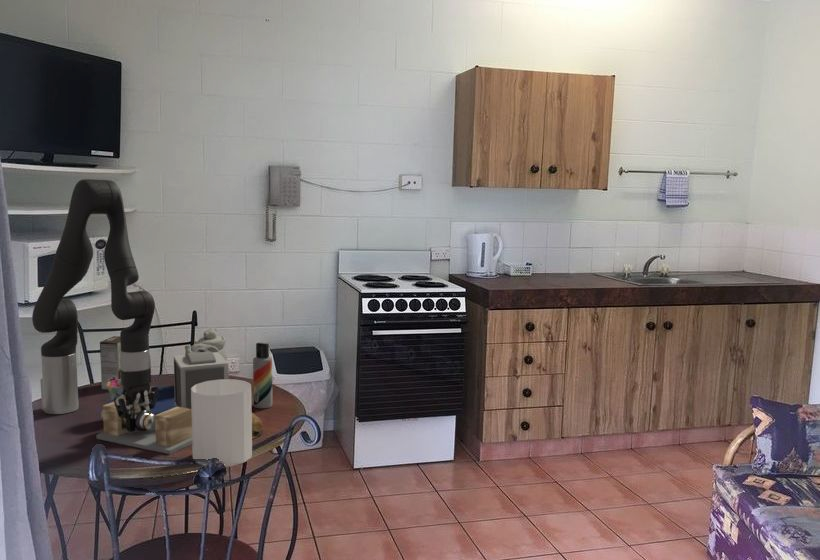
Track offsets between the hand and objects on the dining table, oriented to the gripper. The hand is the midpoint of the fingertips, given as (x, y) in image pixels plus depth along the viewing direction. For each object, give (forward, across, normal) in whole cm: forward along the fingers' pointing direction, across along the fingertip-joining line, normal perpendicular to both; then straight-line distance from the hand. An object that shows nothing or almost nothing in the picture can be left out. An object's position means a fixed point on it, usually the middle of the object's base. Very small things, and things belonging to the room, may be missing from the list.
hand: (137, 428), depth 186 cm
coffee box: (+2, -33, -42) cm, 53 cm away
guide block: (+1, 0, -5) cm, 6 cm away
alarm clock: (+3, -23, +2) cm, 23 cm away
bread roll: (+3, -14, +24) cm, 28 cm away
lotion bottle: (+2, -37, +14) cm, 40 cm away
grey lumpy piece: (+2, -47, -17) cm, 50 cm away
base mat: (+2, 0, +4) cm, 5 cm away
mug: (+2, -11, -15) cm, 19 cm away
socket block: (+2, 0, +12) cm, 13 cm away
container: (+3, +1, +29) cm, 29 cm away
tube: (0, 0, -3) cm, 3 cm away
